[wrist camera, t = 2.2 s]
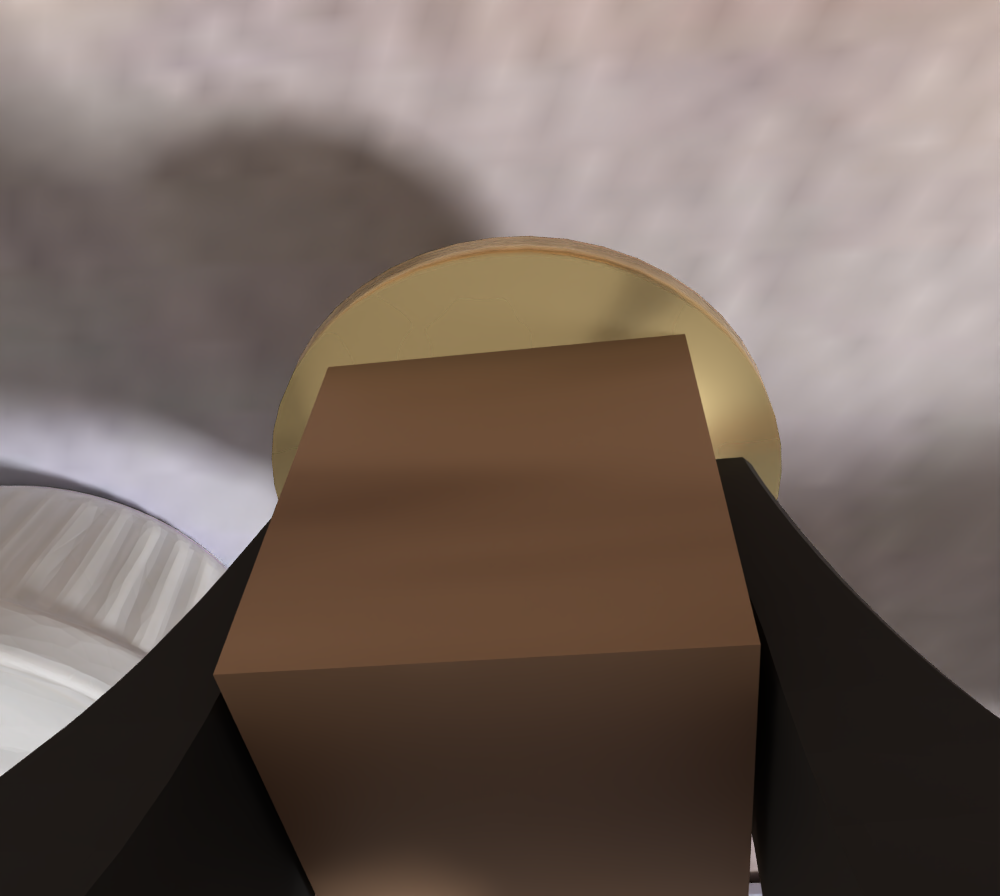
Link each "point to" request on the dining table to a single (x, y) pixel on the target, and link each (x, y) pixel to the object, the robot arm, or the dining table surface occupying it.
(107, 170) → the dining table surface
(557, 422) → the block
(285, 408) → the balance
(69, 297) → the dining table surface
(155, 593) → the ramekin
